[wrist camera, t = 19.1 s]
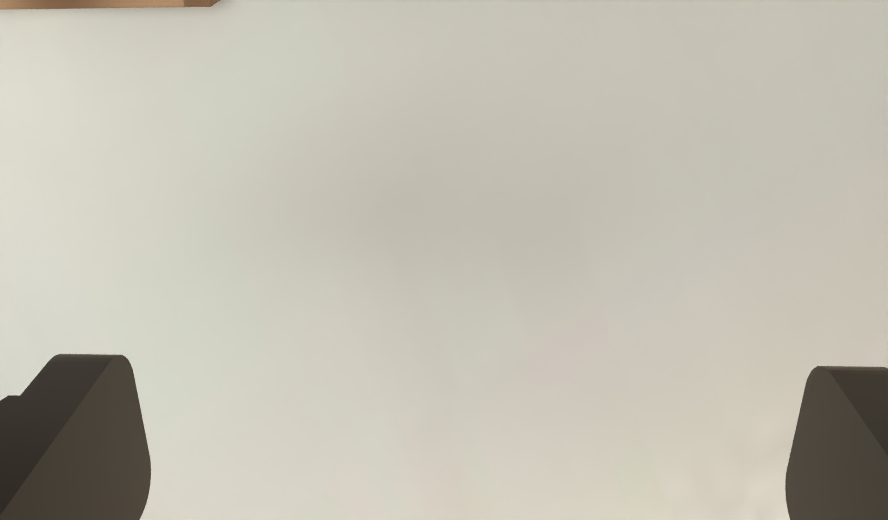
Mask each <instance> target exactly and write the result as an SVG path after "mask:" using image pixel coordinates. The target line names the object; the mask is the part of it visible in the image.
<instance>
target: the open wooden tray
mask: <svg viewBox="0 0 888 520" xmlns="http://www.w3.org/2000/svg"><path fill="white" fill-rule="evenodd" d="M218 1H220V0H0V9H68V8H143V7H211V6H212V5H214V4H215V3H217V2H218Z"/></svg>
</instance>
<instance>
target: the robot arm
mask: <svg viewBox="0 0 888 520" xmlns="http://www.w3.org/2000/svg"><path fill="white" fill-rule="evenodd" d="M150 480H151V463H150V455H149V450H148V445H147V440H146V435H145V430H144V425H143V420H142V414H141V409H140V404H139V399H138V394H137V389H136V384H135V379H134V374H133V370H132V367H131V364H130V362H129V360H128V359H127V358H126V357H125V356H123V355H93V354H59V355H56V356H54V357H53V358H52V359H51V360H50V361H49V362H48V363H47V364H46V365H45V367H44V368H43V369H42V370H41V371H40V373H39V374H38V375H37V376H36V377H35V379H34V380H33V381H32V382H31V383H30V385H29V386H28V387H27V388H26V389H25V391H24V392H23V393H22V394H21V395H20V396H7V397H5V398H4V399H2V400H1V401H0V520H139V519H140V517H141V515H142V513H143V511H144V508H145V505H146V502H147V498H148V494H149V488H150ZM786 501H787V508H788V513H789V517H790V520H888V368H885V367H844V366H817V367H816V368H814V369H813V370H812V371H811V373H810V374H809V377H808V379H807V382H806V386H805V390H804V395H803V399H802V404H801V408H800V413H799V417H798V422H797V426H796V431H795V435H794V440H793V445H792V449H791V454H790V458H789V463H788V467H787V473H786Z"/></svg>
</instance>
